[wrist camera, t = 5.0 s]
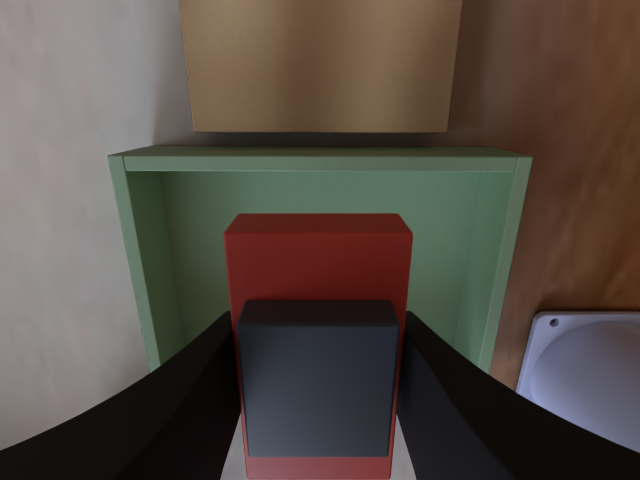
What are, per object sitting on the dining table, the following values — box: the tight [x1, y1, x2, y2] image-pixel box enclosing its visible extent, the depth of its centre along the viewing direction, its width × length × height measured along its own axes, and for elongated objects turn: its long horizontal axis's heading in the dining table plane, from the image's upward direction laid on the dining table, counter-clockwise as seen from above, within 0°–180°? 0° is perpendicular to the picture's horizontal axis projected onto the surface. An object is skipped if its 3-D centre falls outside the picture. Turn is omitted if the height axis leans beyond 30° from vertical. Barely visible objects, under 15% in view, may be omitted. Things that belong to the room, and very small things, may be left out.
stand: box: [179, 0, 463, 133], centre depth 15 cm, size 11×8×2 cm
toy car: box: [223, 213, 413, 480], centre depth 10 cm, size 4×8×3 cm, turn 0°
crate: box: [108, 146, 533, 375], centre depth 18 cm, size 16×12×4 cm
